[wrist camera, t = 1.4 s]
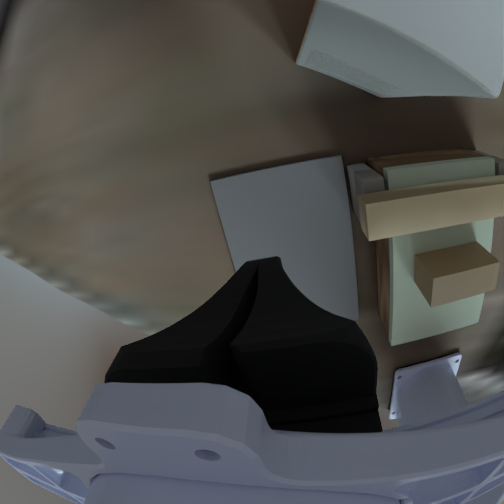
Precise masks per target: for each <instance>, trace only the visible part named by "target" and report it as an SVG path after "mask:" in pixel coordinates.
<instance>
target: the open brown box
mask: <svg viewBox="0 0 504 504" xmlns="http://www.w3.org/2000/svg"><path fill="white" fill-rule="evenodd" d="M484 156H489V157H492V158H494V159H495V176H497V175H504V160H503V159H501V158H498V157H495V156H492V155H489V154H486V153H483V152H480V151H477V150H472V151H471V150H468V149H465V148H462V147H461V148H449V149H438V150H428V151H419V152H410V153H402V154H393V155H386V156H378V157H371V158H367V165H368V166H367V165H365V164H364V163H359V164H353V165H346V166H347V172H348V178H349V185H350V192H351V200H352V208H353V213H354V214H355V216H356V217H357V219H358V220H359V222H360V223H361V221H360V212H359V203H358V195H361V194H368V193H374V192H380V191H385V183H384V174H383V168H386V167H393V166H401V165H408V164H416V163H425V162H433V161H442V160H452V159H462V158H473V157H484ZM375 242H376V259H377V284H378V313H379V316H380V318H381V321H382V323H383V326H384V329H385V331H386V334H387V336H388V339H389V320H390V255H389V238H384V239H379V240H375Z"/></svg>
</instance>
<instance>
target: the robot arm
mask: <svg viewBox="0 0 504 504" xmlns="http://www.w3.org/2000/svg"><path fill="white" fill-rule="evenodd" d="M461 357H462V355H461V353H455V354H452V355H448V356H445V357H442V358H438V359H435V360H431V361H428V362H424V363H421V364H417V365H413V366H409V367H405V368H401V369H398V370H396V372H395V376H394V384H393V391H392V398H391V404H390V410H389V419H395V418H397V420H398V424H399V427H396V428H392V429H388V430H384V431H382V426H381V421H380V417H379V412H378V407H379V404H378V399H377V395H376V386H377V370H378V368H377V360H376V357H375V354H374V352H373V350H372V348H371V346H370V344H369V342H368V340H367V338H366V337H365V335H364V333H363V332H362V330H361V329H360V328H359V326H358V325H357V323H356V322H355V321H353V320H351V319H347V318H344V317H341V316H338V315H335V314H333V313H331V312H328V311H326V310H324V309H323V308H321V307H319V306H318V305H316V304H315V303H313V302H312V301H311V300H309V299H308V298H307V297H306V296H305V295H304V294H303V293H302V292H301V291H300V290H299V289H298V288H297V287H296V286H295V285H294V284H293V282H292V281H291V280H290V278H289V277H288V275H287V274H286V272H285V271H284V269H283V266H282V261H281V258H280V257H278V256H274V257H269V258H263V259H257V260H251V261H246V262H245V263H244V264H243V265H242V266H241V267H240V268H239V269H238V271H237V272H236V273H235V274H234V275H233V276H232V277H231V278H230V279H229V280H228V282H227V283H226V284H225V285H224V286H223V287H222V288H221V289H220V290H219V291H217V292H216V293H215V294H214V295H213V296H212V297H211V298H210V299H209V300H208V301H207V302H205V303H204V304H203V305H202V306H200V307H199V308H198V309H196V310H195V311H194V312H192V313H191V314H189V315H188V316H186V317H185V318H183V319H181V320H180V321H178V322H177V323H175V324H173V325H171V326H170V327H168V328H166V329H164V330H162V331H160V332H158V333H156V334H153V335H151V336H149V337H147V338H144V339H141V340H139V341H136V342H133V343H130V344H128V345H125V346H122V347H121V348H120V350H119V352H118V353H117V355H116V357H115V359H114V360H113V363H112V364H111V366H110V368H109V370H108V371H107V373H106V376H105V384H100V385H96V387H95V388H94V390H93V392H92V394H91V396H90V398H89V399H88V401H87V403H86V405H85V407H84V409H83V411H82V413H81V415H80V416H79V418H78V421H77V424H76V431H73V430H68V429H65V428H61V427H57V426H53V425H49V424H46V423H45V421H44V420H43V419H42V418H41V417H40V416H39V415H38V414H37V413H36V412H35V411H33V410H31V409H29V408H25V407H22V406H18V405H17V406H15V408H14V409H13V411H12V413H11V414H10V416H9V417H8V419H7V420H6V422H5V424H4V425H3V427H2V429H1V430H0V456H1V457H2V458H3V459H4V460H5V461H6V462H8V463H9V464H10V465H11V466H12V467H14V468H15V469H16V470H17V471H18V472H20V473H21V474H22V475H23V476H25V477H26V478H28V479H29V480H30V481H31V482H33V483H35V484H37V485H39V486H41V487H43V488H45V489H47V490H49V491H51V492H53V493H55V494H57V495H59V496H61V497H63V498H66V499H68V500H70V501H72V502H74V503H76V504H501V503H502V501H503V500H504V391H501V392H499V393H497V394H495V395H492V396H490V397H487V398H485V399H483V400H480V401H478V402H475V403H473V404H470V405H468V402H467V400H466V398H465V396H464V393H463V391H462V389H461V387H460V385H459V383H458V380H457V378H456V374H457V370H458V367H459V364H460V360H461Z"/></svg>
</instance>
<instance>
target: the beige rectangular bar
mask: <svg viewBox="0 0 504 504" xmlns="http://www.w3.org/2000/svg"><path fill="white" fill-rule="evenodd" d="M358 203H359V212H360V221H361V229H362V231H363V232H364V234H365V236H366V237H367V239H368V241H373V240H379V239H384V238H390V237H395V236H401V235H406V234H411V233H417V232H422V231H428V230H433V229H438V228H444V227H449V226H454V225H459V224H465V223H470V222H475V221H480V220H486V219H491V218H496V217H501V216H504V175H497V176H488V177H480V178H472V179H464V180H456V181H449V182H441V183H434V184H427V185H420V186H413V187H406V188H400V189H393V190H387V191H380V192H374V193H368V194H361V195H358Z"/></svg>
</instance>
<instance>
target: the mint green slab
mask: <svg viewBox="0 0 504 504" xmlns="http://www.w3.org/2000/svg"><path fill="white" fill-rule="evenodd" d="M383 174H384V183H385V191H387V190H393V189H400V188H406V187H413V186H420V185H427V184H434V183H441V182H449V181H456V180H464V179H472V178H480V177H488V176H495V159H494V158H492V157H489V156H484V157H473V158H462V159H452V160H442V161H433V162H425V163H416V164H408V165H401V166H393V167H386V168H383ZM493 224H494V218H491V219H486V220H480V221H475V222H470V223H465V224H459V225H454V226H449V227H444V228H438V229H433V230H428V231H422V232H417V233H411V234H406V235H401V236H395V237H390V238H389V255H390V320H389V342H390V344H391V346H394V345H399V344H403V343H407V342H411V341H415V340H419V339H423V338H427V337H430V336H434V335H438V334H441V333H445V332H448V331H452V330H455V329H459V328H462V327H465V326H468V325H472V324H475V323H478V321H479V317H480V312H481V308H482V303H483V298H484V293H486V292H489V291H492V290H495V287H496V282H497V276H498V270H499V264H500V262H499V261H498V260H497V259H496V258H495V257H494V256H493V255H492V254H491V246H492V236H493Z"/></svg>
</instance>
